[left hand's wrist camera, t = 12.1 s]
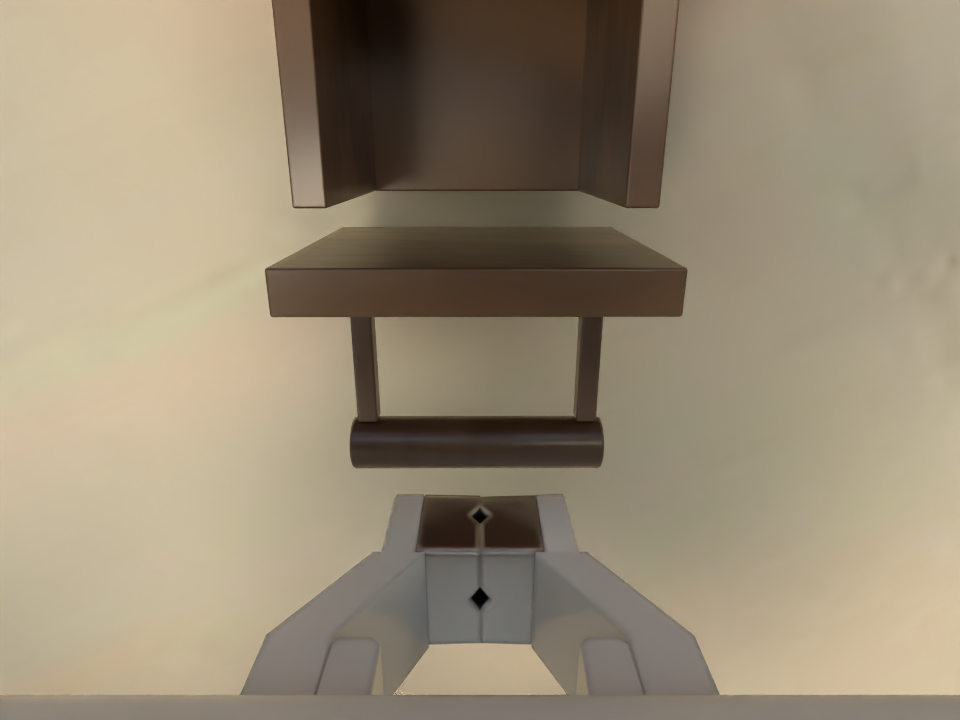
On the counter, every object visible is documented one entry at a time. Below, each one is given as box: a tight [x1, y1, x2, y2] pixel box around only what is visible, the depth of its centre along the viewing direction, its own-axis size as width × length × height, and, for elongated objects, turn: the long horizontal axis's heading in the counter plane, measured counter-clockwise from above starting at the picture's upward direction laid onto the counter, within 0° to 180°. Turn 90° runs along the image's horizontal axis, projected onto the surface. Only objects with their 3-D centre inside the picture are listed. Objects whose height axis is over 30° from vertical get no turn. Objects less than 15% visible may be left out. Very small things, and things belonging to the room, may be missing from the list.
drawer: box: [265, 0, 687, 468], centre depth 16 cm, size 24×10×8 cm, turn 0°
